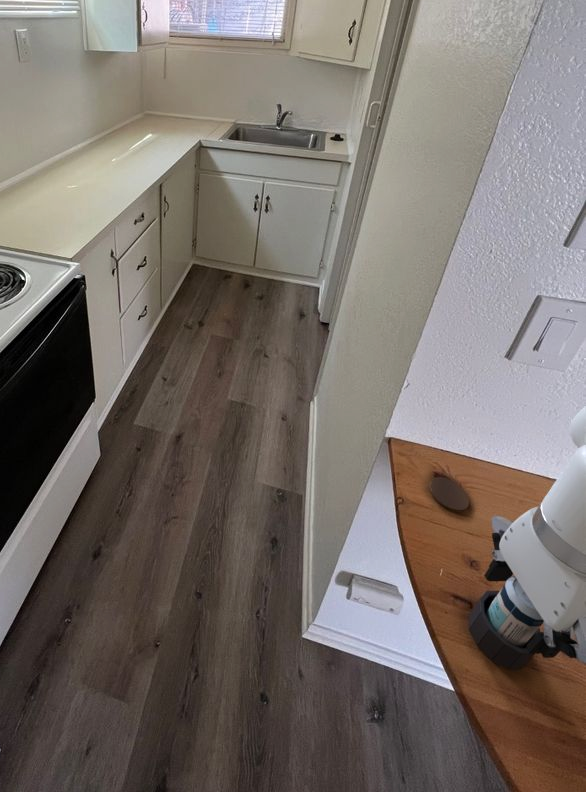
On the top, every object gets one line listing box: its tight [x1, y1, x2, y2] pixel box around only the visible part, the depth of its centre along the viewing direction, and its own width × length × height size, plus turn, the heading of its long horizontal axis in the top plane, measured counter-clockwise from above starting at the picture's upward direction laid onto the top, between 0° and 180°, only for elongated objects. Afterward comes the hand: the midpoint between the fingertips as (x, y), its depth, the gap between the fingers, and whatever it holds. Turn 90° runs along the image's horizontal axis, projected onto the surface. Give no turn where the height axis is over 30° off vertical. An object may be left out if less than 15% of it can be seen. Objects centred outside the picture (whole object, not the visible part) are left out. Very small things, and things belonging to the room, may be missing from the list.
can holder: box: [467, 590, 541, 671], centre depth 60 cm, size 7×7×5 cm
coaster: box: [428, 476, 470, 513], centre depth 80 cm, size 6×6×1 cm
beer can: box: [485, 576, 543, 648], centre depth 58 cm, size 5×5×12 cm
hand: (516, 611), depth 58 cm, fingers open, 7 cm apart
